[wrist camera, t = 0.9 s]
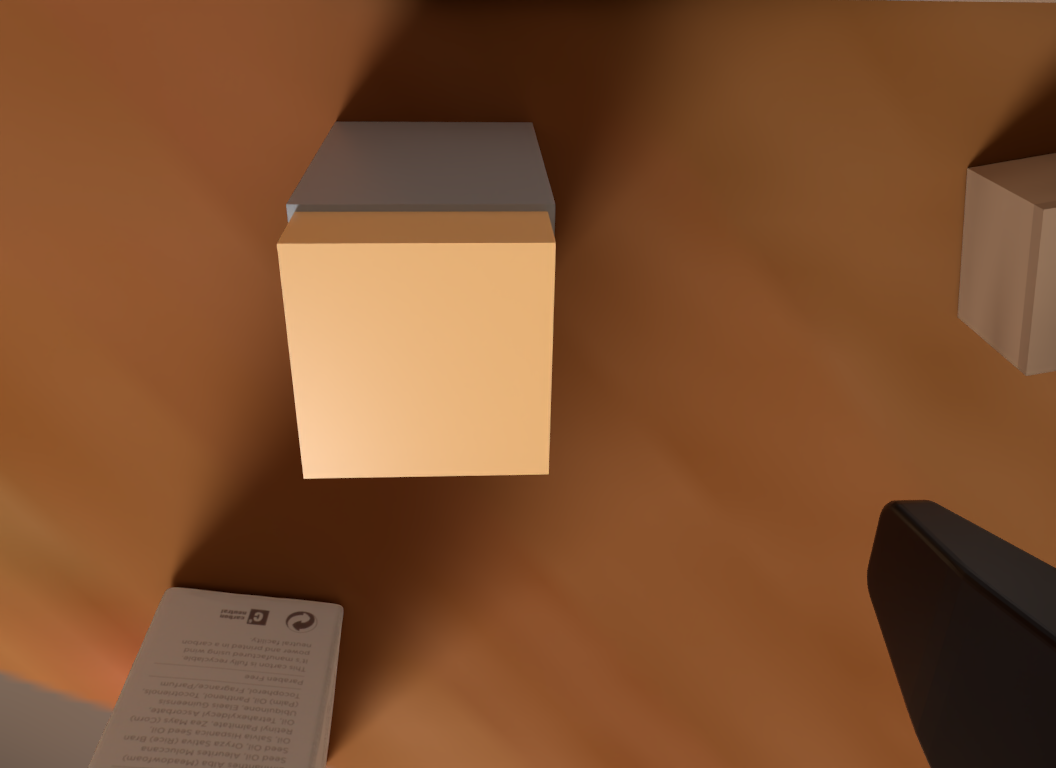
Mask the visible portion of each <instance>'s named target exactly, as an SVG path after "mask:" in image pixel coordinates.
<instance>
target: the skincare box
mask: <svg viewBox="0 0 1056 768" xmlns="http://www.w3.org/2000/svg"><path fill="white" fill-rule="evenodd" d="M343 613H344V611H343V607H342V606H341V605H338V604H334V603H326V602H317V601H308V600H299V599H289V598H274V597H266V596H257V595H245V594H235V593H226V592H218V591H209V590H200V589H191V588H181V587H172V588H169V589H167V590H166V592H165V593H164V595H163V597H162V599H161V601H160V604H159V606H158V608H157V611H156V613H155V615H154V618H153V620H152V623H151V625H150V627H149V629H148V631H147V633H146V635H145V638H144V641H143V643H142V645H141V648H140V650H139V652H138V654H137V657H136V659H135V661H134V663H133V665H132V668H131V670H130V672H129V675H128V677H127V679H126V682H125V684H124V687H123V689H122V691H121V694H120V696H119V698H118V701H117V703H116V705H115V708H114V710H113V712H112V715H111V716H110V719H109V721H108V723H107V725H106V727H105V729H104V732H103V734H102V737H101V739H100V741H99V743H98V745H97V747H96V750H95V752H94V755H93V757H92V759H91V762H90V764H89V766H88V768H326V761H327V753H328V745H329V737H330V729H331V720H332V712H333V704H334V694H335V684H336V675H337V665H338V655H339V646H340V637H341V628H342V620H343Z"/></svg>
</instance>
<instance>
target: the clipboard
mask: <svg viewBox="0 0 1056 768" xmlns="http://www.w3.org/2000/svg"><path fill="white" fill-rule="evenodd" d="M889 1H973V2H1056V0H889Z"/></svg>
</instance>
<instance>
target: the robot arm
mask: <svg viewBox="0 0 1056 768" xmlns="http://www.w3.org/2000/svg"><path fill="white" fill-rule="evenodd" d="M867 585H868V590H869V594H870V598H871V601H872V604H873V607H874V610H875V613H876V616H877V619H878V622H879V625H880V628H881V631H882V634H883V637H884V640H885V643H886V646H887V649H888V652H889V656H890V659H891V662H892V665H893V668H894V671H895V674H896V677H897V680H898V683H899V686H900V689H901V692H902V695H903V698H904V701H905V704H906V707H907V710H908V713H909V716H910V719H911V721H912V724H913V727H914V730H915V732H916V735H917V737H918V740H919V742H920V744H921V747H922V749H923V751H924V754H925V756H926V758H927V761H928V763H929V765H930V767H931V768H1056V568H1054V567H1052V566H1051V565H1049V564H1047V563H1045V562H1043V561H1041V560H1040V559H1038V558H1036V557H1034V556H1032V555H1030V554H1029V553H1027V552H1025V551H1023V550H1021V549H1019V548H1017V547H1016V546H1014V545H1012V544H1010V543H1008V542H1006V541H1005V540H1003V539H1001V538H999V537H997V536H995V535H994V534H992V533H990V532H988V531H986V530H984V529H983V528H981V527H979V526H977V525H975V524H973V523H972V522H970V521H968V520H966V519H964V518H962V517H961V516H959V515H957V514H955V513H953V512H951V511H950V510H948V509H946V508H944V507H942V506H940V505H938V504H937V503H935V502H932V501H929V500H901V501H891V502H889V503H888V504H886V505H885V506H884V508H883V509H882V512H881V514H880V518H879V522H878V526H877V530H876V535H875V539H874V543H873V547H872V552H871V556H870V560H869V564H868V570H867Z"/></svg>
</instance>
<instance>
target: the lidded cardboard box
mask: <svg viewBox="0 0 1056 768" xmlns="http://www.w3.org/2000/svg"><path fill="white" fill-rule="evenodd" d="M286 207H287V216H288V225H287V226H286V228H285V230H284V232H283V234H282V235H281V237H280V239H279V241H278V243H277V249H278V258H279V267H280V276H281V285H282V293H283V302H284V311H285V320H286V328H287V337H288V346H289V355H290V363H291V372H292V381H293V390H294V398H295V407H296V416H297V425H298V433H299V442H300V451H301V460H302V468H303V477H304V479H312V478H369V477H425V476H481V475H538V474H549V446H550V414H551V382H552V350H553V318H554V285H555V253H556V241H555V238H554V235H555V201H554V197H553V194H552V190H551V187H550V183H549V180H548V176H547V173H546V169H545V166H544V162H543V159H542V155H541V152H540V148H539V145H538V141H537V138H536V134H535V130H534V127H533V123H532V122H335V123H334V125H333V127H332V128H331V130H330V132H329V133H328V135H327V137H326V139H325V140H324V142H323V144H322V145H321V147H320V149H319V150H318V152H317V154H316V155H315V157H314V159H313V160H312V162H311V164H310V165H309V167H308V169H307V170H306V172H305V174H304V175H303V177H302V179H301V180H300V182H299V184H298V186H297V187H296V189H295V191H294V192H293V194H292V196H291V197H290V199H289V201H288V202H287V204H286Z"/></svg>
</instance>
